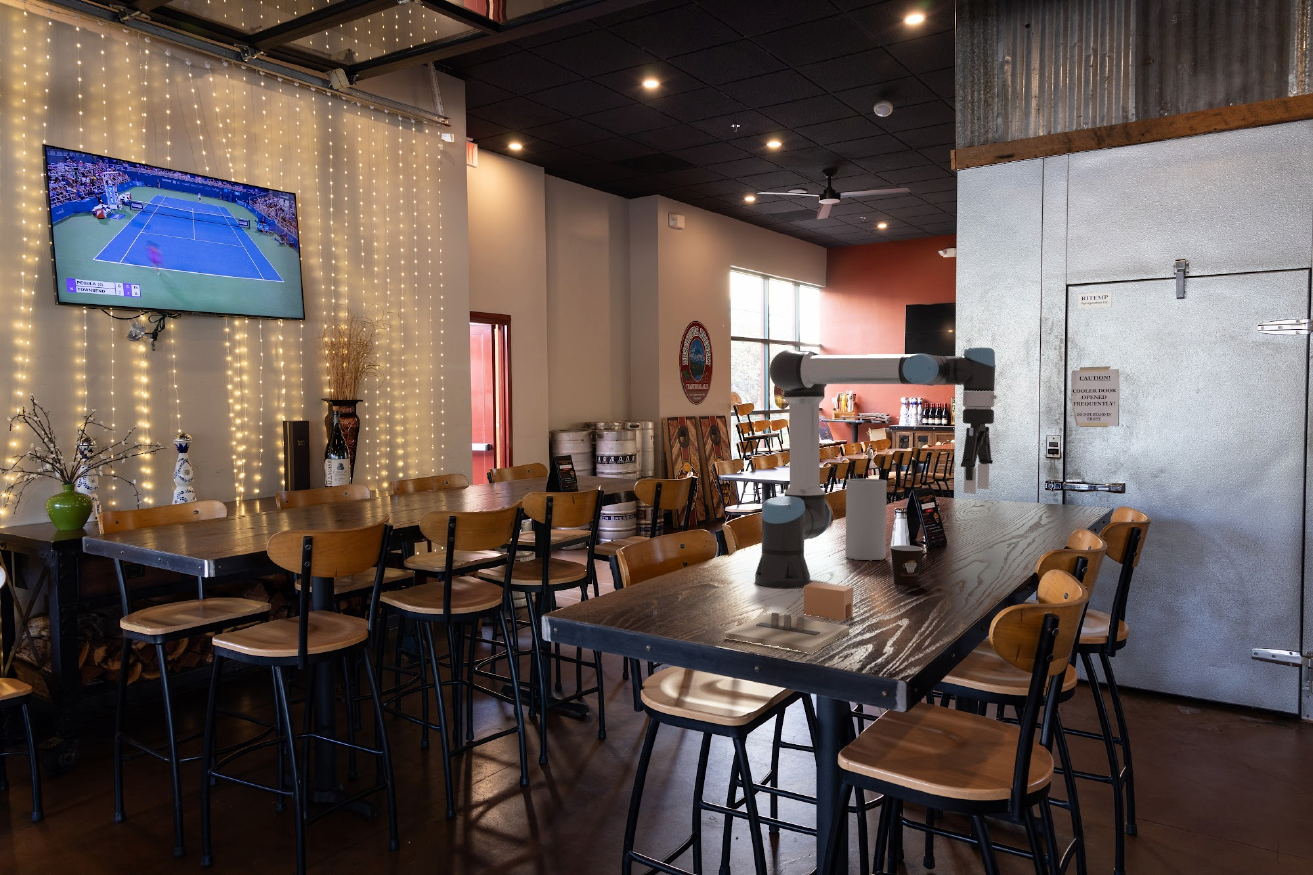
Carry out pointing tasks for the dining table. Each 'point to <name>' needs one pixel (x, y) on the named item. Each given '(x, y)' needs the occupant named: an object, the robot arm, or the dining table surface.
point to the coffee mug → (907, 564)
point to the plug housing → (828, 600)
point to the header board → (788, 632)
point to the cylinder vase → (866, 519)
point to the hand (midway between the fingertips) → (976, 491)
